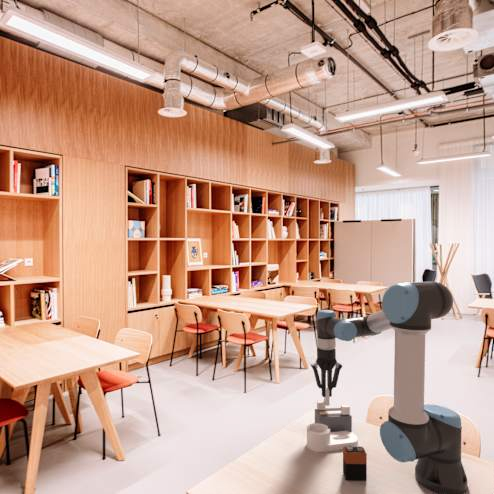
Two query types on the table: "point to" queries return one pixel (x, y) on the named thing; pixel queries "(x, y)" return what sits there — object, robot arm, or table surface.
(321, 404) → the rear tab
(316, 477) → the table surface
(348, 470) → the battery
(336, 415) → the switch box
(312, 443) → the bracket
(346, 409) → the front tab
